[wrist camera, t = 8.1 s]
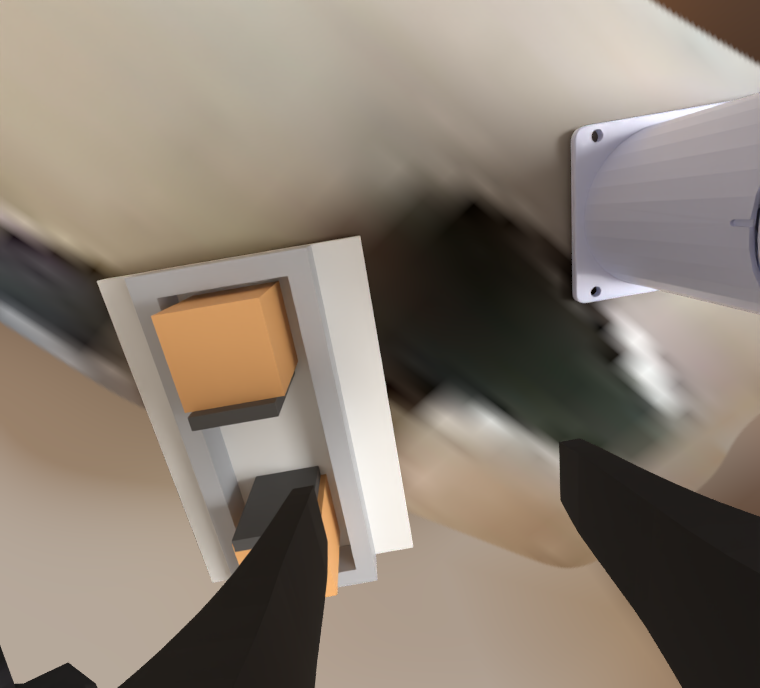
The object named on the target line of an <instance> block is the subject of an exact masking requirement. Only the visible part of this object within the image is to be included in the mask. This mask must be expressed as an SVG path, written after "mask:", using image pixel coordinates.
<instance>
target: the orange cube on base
mask: <svg viewBox="0 0 760 688" xmlns="http://www.w3.org/2000/svg"><path fill="white" fill-rule="evenodd" d="M151 318H152V321H153V324H154V327H155V330H156V333H157V335H158V338H159V341H160V344H161V347H162V350H163V352H164V355H165V358H166V361H167V364H168V367H169V370H170V372H171V375H172V378H173V381H174V384H175V387H176V389H177V392H178V395H179V398H180V401H181V404H182V407H183V409H184V412H185V413H188V412H192V413H191V414H190V415H189V416H188V421H189V424H190V427H191V430H192V431H198V430H203V429H209V428H215V427H221V426H226V425H232V424H238V423H244V422H249V421H255V420H261V419H267V418H272V417H278V416H279V414H280V411H281V409H282V406H283V403H284V401H285V398H286V395H287V393H288V390H289V388H290V385H291V382H292V380H293V377H294V374H295V368H296V365H297V363H298V358H297V354H296V350H295V346H294V341H293V337H292V333H291V329H290V325H289V321H288V317H287V312H286V308H285V304H284V300H283V296H282V292H281V288H280V283H279V281H275V282H269V283H263V284H257V285H252V286H246V287H240V288H234V289H228V290H222V291H217V292H211V293H205V294H199V295H193V296H191V297H189V298H187V299H185V300H183V301H181V302H179V303H177V304H175V305H173V306H171V307H168V308H166V309H164V310H162V311H160V312H158V313H156V314H154V315H152V316H151Z"/></svg>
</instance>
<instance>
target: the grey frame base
mask: <svg viewBox="0 0 760 688" xmlns="http://www.w3.org/2000/svg"><path fill="white" fill-rule="evenodd" d="M275 281H279V283H280V288H281V292H282V296H283V300H284V304H285V308H286V312H287V317H288V321H289V325H290V329H291V333H292V337H293V341H294V346H295V350H296V354H297V358H298V363H297V365H296V368H295V374H294V377H293V380H292V382H291V385H290V388H289V390H288V393H287V395H286V398H285V401H284V403H283V406H282V409H281V411H280V414H279V416H278V417H272V418H267V419H261V420H255V421H249V422H244V423H238V424H232V425H226V426H221V427H215V428H209V429H203V430H198V431H192V430H191V427H190V424H189V421H188V416H189V415H190V414H191V413H192V412H188V413H185V412H184V409H183V407H182V404H181V401H180V398H179V395H178V392H177V389H176V387H175V384H174V381H173V378H172V375H171V372H170V370H169V367H168V364H167V361H166V358H165V355H164V352H163V350H162V347H161V344H160V341H159V338H158V335H157V333H156V330H155V327H154V324H153V321H152V318H151V316H152V315H154V314H156V313H158V312H160V311H162V310H164V309H166V308H168V307H171V306H173V305H175V304H177V303H179V302H181V301H183V300H185V299H187V298H189V297H191V296H193V295H199V294H205V293H211V292H217V291H222V290H228V289H234V288H240V287H246V286H252V285H257V284H263V283H269V282H275ZM97 284H98V286H99V289H100V291H101V294H102V297H103V299H104V302H105V304H106V307H107V310H108V312H109V315H110V317H111V320H112V323H113V325H114V328H115V330H116V333H117V336H118V338H119V341H120V343H121V346H122V349H123V351H124V354H125V356H126V359H127V362H128V364H129V367H130V369H131V372H132V375H133V377H134V380H135V382H136V385H137V388H138V390H139V393H140V395H141V398H142V401H143V403H144V406H145V408H146V411H147V414H148V416H149V419H150V421H151V424H152V426H153V429H154V432H155V434H156V437H157V440H158V442H159V445H160V447H161V450H162V453H163V455H164V458H165V460H166V463H167V466H168V468H169V471H170V473H171V476H172V479H173V481H174V484H175V487H176V489H177V492H178V494H179V497H180V499H181V502H182V505H183V507H184V510H185V512H186V515H187V517H188V520H189V523H190V525H191V528H192V531H193V533H194V536H195V538H196V541H197V544H198V546H199V549H200V551H201V554H202V557H203V559H204V562H205V565H206V567H207V570H208V572H209V575H210V577H211V580H212V582H213V583H214V582H219V581H225V580H228V579H229V578H230V577H231V575H232V574H233V573H234V571H235V570H236V569H237V568H238V566H239V565H240V564H241V562H242V561H243V560H244V558H245V557H246V556H247V555H248V553H249V552H250V551H251V549H252V548H253V546H254V545H255V544H256V542H257V541H258V539H259V538H260V537H261V535H262V534H263V532H264V531H265V529H266V528H267V526H268V525H269V524H270V522H271V521H272V519H273V518H274V516H275V515H276V513H277V511H278V510H279V508H280V507H281V505H282V504H283V502H284V501H285V499H286V498H287V496H288V495H289V493H290V492H291V491H292V489H295V488H300V487H306V486H312V485H314V489H315V493H316V497H317V501H318V505H319V509H320V512H321V516H322V520H323V524H324V528H325V532H326V536H327V540H328V576H327V586H326V594H325V597H329V596H335V595H337V590H338V587H343V586H348V585H354V584H359V583H365V582H371V581H376V580H377V565H376V554H378V553H383V552H389V551H395V550H401V549H406V548H412V547H413V542H412V536H411V531H410V525H409V520H408V513H407V507H406V501H405V496H404V490H403V484H402V478H401V472H400V466H399V460H398V455H397V449H396V443H395V437H394V431H393V425H392V419H391V414H390V408H389V402H388V396H387V390H386V384H385V378H384V373H383V367H382V361H381V355H380V349H379V343H378V337H377V332H376V326H375V320H374V314H373V308H372V302H371V296H370V291H369V285H368V279H367V273H366V267H365V261H364V255H363V250H362V244H361V238H360V235H359V236H353V237H347V238H342V239H336V240H330V241H324V242H318V243H312V244H306V245H300V246H295V247H289V248H283V249H277V250H271V251H265V252H259V253H253V254H247V255H242V256H236V257H230V258H224V259H218V260H212V261H206V262H200V263H195V264H189V265H183V266H177V267H171V268H165V269H159V270H153V271H148V272H142V273H136V274H130V275H124V276H118V277H112V278H107V279H103V280H99V281H97Z"/></svg>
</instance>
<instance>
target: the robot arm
mask: <svg viewBox="0 0 760 688" xmlns="http://www.w3.org/2000/svg"><path fill="white" fill-rule="evenodd" d="M593 131H595V132H597V134H598V139H597V141H596V142H594V141H593V140H592V138H591V136H592V133H593ZM571 204H572V294H573V298H574V299H575V300H576V301H578V302H580V303H589V302H595V301H600V300H606V299H612V298H618V297H624V296H630V295H635V294H641V293H647V292H653V291H659V290H661V291H665V292H669V293H673V294H677V295H681V296H685V297H690V298H694V299H698V300H702V301H706V302H710V303H714V304H718V305H723V306H727V307H731V308H735V309H739V310H743V311H747V312H752V313H756V314H760V92H759V93H756V94H753V95H750V96H746V97H743V98H740V99H737V100H732V101H726V102H721V103H715V104H709V105H703V106H697V107H691V108H685V109H679V110H673V111H667V112H661V113H655V114H649V115H643V116H637V117H632V118H626V119H620V120H614V121H608V122H602V123H596V124H590V125H585V126H582V127H580V128H577V129H576V130H575V131H574V133H573V135H572V137H571ZM593 287H596V289H597V290H596V293H595V294H594V295H591V290H592V289H593ZM559 453H560V497H561V502H562V504H563V506H564V508H565V509H566V511H567V513H568V515H569V517H570V519H571V520H572V522H573V524H574V526H575V527H576V529H577V531H578V533H579V534H580V536H581V537H582V538H583V540H584V541H585V543H586V544H587V545H588V547H589V548H590V550H591V551H592V552H593V554H594V555H595V557H596V558H597V559H598V561H599V562H600V563H601V565H602V566H603V568H604V569H605V570H606V572H607V573H608V574H609V576H610V577H611V579H612V580H613V581H614V583H615V584H616V585H617V587H618V588H619V590H620V591H621V592H622V594H623V595H624V596H625V598H626V599H627V600H628V602H629V603H630V605H631V606H632V607H633V609H634V610H635V612H636V613H637V614H638V616H639V618H640V619H641V620H642V622H643V623H644V625H645V626H646V628H647V629H648V631H649V633H650V634H651V636H652V638H653V639H654V641H655V642H656V644H657V646H658V648H659V649H660V651H661V653H662V654H663V656H664V658H665V659H666V661H667V663H668V664H669V666H670V668H671V669H672V671H673V673H674V674H675V676H676V678H677V679H678V681H679V683H680V685H681V686H682V688H760V517H759V516H756V515H754V514H751V513H748V512H745V511H742V510H740V509H737V508H734V507H732V506H729V505H726V504H723V503H720V502H718V501H715V500H713V499H710V498H708V497H705V496H703V495H700V494H698V493H696V492H693V491H691V490H689V489H686V488H684V487H682V486H679V485H677V484H675V483H672V482H670V481H668V480H666V479H664V478H661V477H659V476H657V475H655V474H653V473H651V472H649V471H647V470H644V469H642V468H640V467H638V466H636V465H634V464H632V463H630V462H628V461H626V460H624V459H622V458H620V457H618V456H616V455H614V454H612V453H610V452H608V451H606V450H604V449H602V448H600V447H598V446H596V445H593V444H591V443H589V442H587V441H585V440H582V439H574V440H569V441H563V442H559ZM327 576H328V540H327V536H326V532H325V528H324V524H323V520H322V516H321V512H320V509H319V505H318V501H317V497H316V493H315V489H314V485H312V486H306V487H300V488H295V489H292V491H291V492H290V493H289V495H288V496H287V498H286V499H285V501H284V502H283V504H282V505H281V507H280V508H279V510H278V511H277V513H276V515H275V516H274V518H273V519H272V521H271V522H270V524H269V525H268V526H267V528H266V529H265V531H264V532H263V534H262V535H261V537H260V538H259V539H258V541H257V542H256V544H255V545H254V546H253V548H252V549H251V551H250V552H249V553H248V555H247V556H246V557H245V558H244V560H243V561H242V562H241V564H240V565H239V566H238V568H237V569H236V570H235V571H234V573H233V574H232V575H231V577H230V578H229V579H228V580H227V581H226V583H225V584H224V585H223V586H222V587H221V589H220V590H219V591H218V592H217V593H216V594H215V595H214V596H213V598H212V599H211V600H210V601H209V602H208V603H207V604H206V605H205V606H204V607H203V608H202V610H201V611H200V612H199V613H198V614H197V615H196V616H195V617H194V618H193V619H192V620H191V621H190V622H189V623H188V624H187V625H186V626H185V627H184V628H183V629H182V630H181V631H180V632H179V633H178V634H177V635H176V636H175V637H174V638H173V639H171V641H169V642H168V643H167V644H166V645H165V646H164V647H163V648H162V649H161V650H160V651H159V652H158V653H157V654H156V655H155V656H153V658H151V659H150V660H149V661H148V662H147V663H146V664H145V665H144V666H142V667H141V668H140V669H139V670H138V671H137V672H136V673H134V674H133V675H132V676H131V677H130V678H128V679H127V680H126V681H125V682H124V683H123V684H121V685H120V686H119V687H118V688H315V678H316V667H317V658H318V651H319V643H320V635H321V626H322V618H323V610H324V603H325V594H326V586H327Z"/></svg>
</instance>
